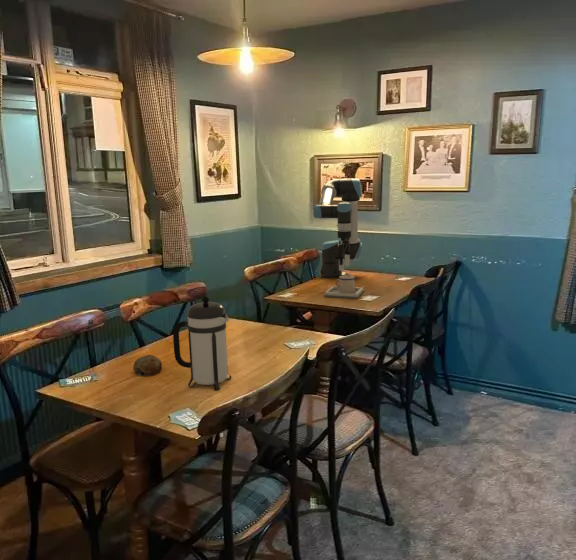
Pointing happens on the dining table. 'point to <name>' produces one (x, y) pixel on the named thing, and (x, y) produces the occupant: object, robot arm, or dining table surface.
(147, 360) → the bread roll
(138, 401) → the dining table surface
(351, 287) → the teacup with lid
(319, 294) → the dining table surface
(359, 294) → the grey shallow tray
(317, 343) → the dining table surface
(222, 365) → the coffee press
